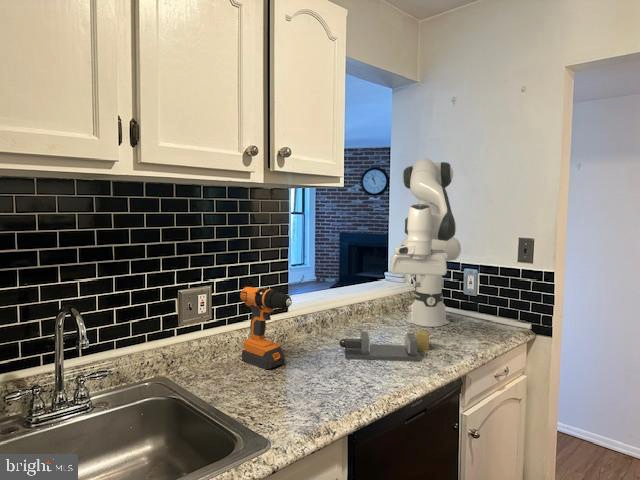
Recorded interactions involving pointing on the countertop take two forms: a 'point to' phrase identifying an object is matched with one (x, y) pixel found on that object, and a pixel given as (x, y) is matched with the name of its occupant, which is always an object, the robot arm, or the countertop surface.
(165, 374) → the countertop surface
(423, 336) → the block
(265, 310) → the power drill
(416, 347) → the vise
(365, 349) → the jaw
